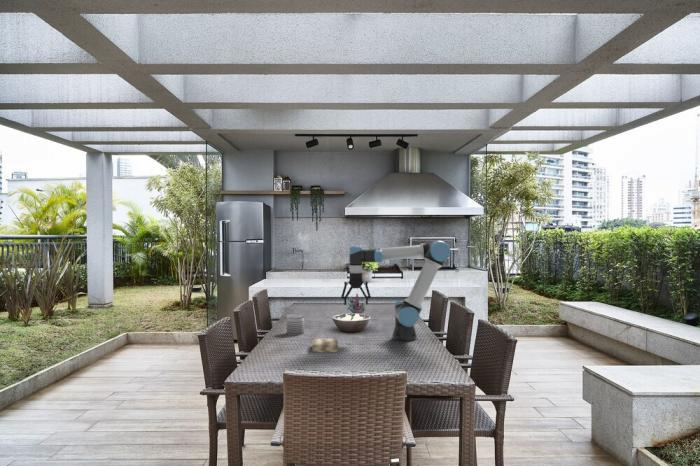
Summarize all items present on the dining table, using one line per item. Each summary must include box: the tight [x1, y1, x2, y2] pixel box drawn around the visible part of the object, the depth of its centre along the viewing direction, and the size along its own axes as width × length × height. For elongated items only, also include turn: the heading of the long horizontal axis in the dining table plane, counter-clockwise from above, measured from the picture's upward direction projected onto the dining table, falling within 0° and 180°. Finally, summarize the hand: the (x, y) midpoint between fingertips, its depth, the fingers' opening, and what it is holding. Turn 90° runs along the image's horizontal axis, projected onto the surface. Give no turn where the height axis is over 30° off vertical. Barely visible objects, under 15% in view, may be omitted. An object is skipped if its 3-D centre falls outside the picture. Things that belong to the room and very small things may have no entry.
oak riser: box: [311, 338, 339, 353], centre depth 268 cm, size 14×15×4 cm
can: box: [286, 313, 305, 336], centre depth 310 cm, size 11×11×12 cm
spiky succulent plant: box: [348, 293, 365, 314], centre depth 283 cm, size 11×11×12 cm
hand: (356, 310), depth 282 cm, fingers closed on spiky succulent plant, 10 cm apart
